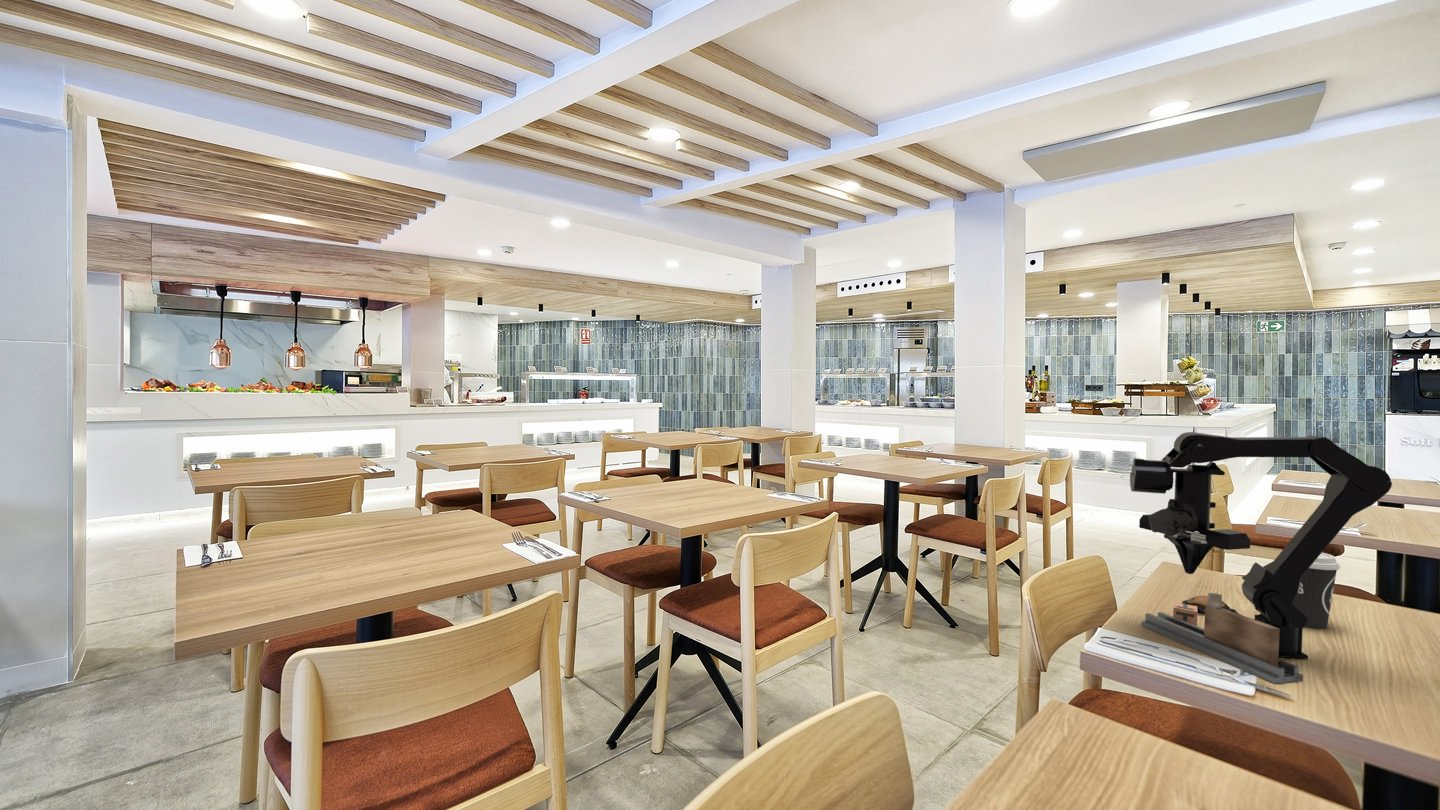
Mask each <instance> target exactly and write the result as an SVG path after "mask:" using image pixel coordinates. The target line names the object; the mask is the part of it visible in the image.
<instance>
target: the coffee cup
mask: <svg viewBox="0 0 1440 810" xmlns="http://www.w3.org/2000/svg"><path fill="white" fill-rule="evenodd" d="M1338 570H1341V565H1340V564H1339V562H1338V561H1337V560H1336V557H1335V556H1334V555H1333V554H1329V553H1325V552H1322V553H1321V554H1320V555H1319V557H1318V558H1317V559H1316V560H1315V561H1314V563H1313V564H1312V565H1311V566H1310V567H1309V569H1308V570H1307V571H1306V572H1305V573H1304V575H1303V576H1302V578H1301V581H1300V586H1299V590H1298V594H1297V596H1296V598H1295V600H1294V602H1293V605H1294V606H1295V607H1296V608H1297V609H1298V610H1299V611H1300V612H1301V613H1303V614H1304V615H1305V616H1306V617H1307V618H1308V621H1307V622H1306V624H1305V626H1304V628H1309V629H1314V630H1315V629H1317V630H1325V629H1327V628H1328V624H1329V619H1330V618H1329V617H1330V612H1331V606H1332V600H1333V594H1334V587H1335V582H1336V576H1337V571H1338Z"/></svg>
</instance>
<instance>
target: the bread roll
mask: <svg viewBox="0 0 1440 810" xmlns="http://www.w3.org/2000/svg"><path fill="white" fill-rule="evenodd" d="M1181 604H1187V605H1192V606H1197V611H1198V612H1197V617H1198V616H1199V617H1200V616H1201V617H1205V605H1208V595H1195V596H1192V597H1190V598H1188V599H1186V600H1182V602H1181ZM1221 608H1223V609H1226V610H1228V611H1231V612H1234V613H1237V614H1240V613H1239V612H1238V611H1237V610H1236V609H1235V608H1234V609H1233V608H1231V607H1230V606H1229V605H1228V604H1227V603H1225V602H1224V601H1223V600H1222V606H1221Z"/></svg>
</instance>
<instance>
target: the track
mask: <svg viewBox="0 0 1440 810" xmlns="http://www.w3.org/2000/svg"><path fill="white" fill-rule="evenodd" d="M1144 616H1145V617H1144V620H1141V623H1140V624H1141V627H1143V628H1146V629H1148V630H1151V631H1153V632H1154V633H1157V634H1160V635H1162V636H1164V637H1167V638H1169V639H1172V640H1174V641H1176V642H1178V643H1180V644H1183V645H1185V646H1187V647H1188V648H1192V649H1194V650H1195V651H1199V652H1201V653H1203V654H1206V655H1208V656H1210V657H1212V658H1215V659H1217V660H1220V661H1222V662H1224V663H1226V664H1228V665H1231V666H1233V667H1236V668H1238V669H1240V670H1242V671H1243V672H1247V673H1249V674H1251V675H1254V676H1255V677H1258V678H1261V679H1263V680H1265V681H1268V682H1270V683H1273V684H1275V685H1277V684H1279V685H1280V684H1287V683H1296V682H1303V680H1304V675H1303V674H1302V673H1300V666H1298V665H1296V664H1293V663H1290V662H1289V661H1285V660H1283V659H1280V658H1278V666H1277V665H1275V664H1272V663H1270V662H1267V661H1265V660H1263V659H1260V658H1258V657H1255V656H1253V655H1250V654H1248V653H1245V652H1243V651H1241V650H1238V649H1236V648H1233V647H1231V646H1228V645H1226V644H1223V643H1221V642H1219V641H1216V640H1214V639H1211V638H1209V637H1206V636H1204V628H1202V627H1201V626H1198V625H1197V626H1195V625H1193V624H1190V623H1188V622H1185V621H1183V620H1180V619H1178V618H1175V617H1173V615H1171V614H1167V613H1165V612H1162V611H1161V612H1158V613H1157V615H1154V614H1152V613H1149V612H1147V613H1145V615H1144Z"/></svg>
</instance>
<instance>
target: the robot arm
mask: <svg viewBox="0 0 1440 810" xmlns="http://www.w3.org/2000/svg"><path fill="white" fill-rule="evenodd" d="M1234 458H1310V459H1311V460H1312V462H1313V463H1315V464H1316V465H1317V466H1318V467H1319V468H1320V469H1321V470H1323V471H1325V472H1326V473H1327V474H1328V475H1329V476H1330V477H1329V479H1328V481H1327V483H1326V485H1325V489H1324V494H1323V498H1322V501H1321V502H1320V504H1318V506H1317V507H1316V509H1315V510H1314V511H1313V512H1312V514H1311V515H1310V516H1309V517H1308V518H1307V520H1306V521H1305V522H1304V523H1303V524H1302V526H1301V527H1300V528H1299V529H1298V531H1297V532H1296V533H1295V534H1294V535H1293V537H1292V538H1291V539H1290V541H1289V542H1288V543H1287V544H1286V545H1285V547H1284V548H1283V549H1282V551H1280V553H1278V555H1277V556H1276V558H1275V559H1273V561H1271V562H1270V563H1267V564H1265V565H1264V566H1262V565H1261V564H1259V562H1254V563H1253V564H1252V566H1251V568H1250V570H1249V572H1247V573H1246V574H1245V575H1243V576H1242V577H1241V579H1242V580H1243V583H1242V584H1241V590H1242V593H1243V596H1244V597H1245V598H1246V599H1247V601H1249V602H1250V603H1251V604H1252V605H1253V607H1254V610H1256V611H1257V612H1259V614H1254V620H1257V621H1260V622H1262V623H1265V624H1268V625H1271V626H1274V627H1277V628H1279V629H1280V631H1279V656H1278V658H1279V657H1280V658H1294V659H1295V658H1296V659H1309V655H1308V654H1306V653H1304V652H1303V651H1302V650H1303V633H1304V632H1303V630H1304V628H1305V627H1304V626H1305V624H1306V622H1307V621H1308V618H1307V617H1306V616H1305V615H1304V614H1303V613H1301V612H1300V611H1299V610H1298V609H1297V608H1296V607H1295V606H1294V605H1293V602H1294V600H1295V598H1296V596H1297V594H1298V590H1299V586H1300V581H1301V578H1302V576H1303V575H1304V573H1305V572H1306V571H1307V570H1308V569H1309V567H1310V566H1311V565H1312V564H1313V563H1314V561H1315V560H1316V559H1317V558H1318V557H1319V555H1320V554H1321V553H1324V551H1325V550H1326V548H1327V547H1328V546H1329V545H1330V544H1331V542H1332V541H1333V540H1334V538H1336V536H1337V535H1338V534H1339V533H1340V532H1341V530H1342V529H1343V528H1344V527H1345V526H1346V524H1348V522H1349V521H1350V520H1351V519H1352V517H1353V516H1355V515H1356V514H1358V513H1360V512H1361V511H1363V510H1366V509H1367V508H1369V507H1371V506H1373V505H1375V504H1376V503H1377V502H1378V501H1379V500H1380V499H1382V498H1383V497H1384V496H1385V495H1386V494H1388V493H1389V492H1390V490H1391V488H1392V486H1393V482H1392V479H1391V476H1390V475H1389V474H1388V473H1387V472H1386V471H1385V470H1383V469H1382V468H1380V467H1377V466H1373V465H1370V464H1369V465H1368V464H1366V463H1365V462H1364V461H1362V460H1361V459H1359V458H1358V457H1356V456H1354V455H1352V454H1351V453H1349V452H1347V451H1346V450H1344V449H1342V448H1341V447H1340V446H1339V445H1337V444H1336V443H1334V442H1333V441H1332V439H1330V438H1327V437H1324V436H1318V435H1307V436H1272V437H1271V436H1269V437H1268V436H1266V437H1265V436H1260V437H1259V436H1258V437H1256V436H1255V437H1253V436H1252V437H1250V436H1249V437H1240V436H1239V437H1232V436H1231V437H1230V436H1224V435H1222V436H1221V435H1218V434H1217V435H1215V434H1211V433H1210V434H1208V433H1202V432H1193V431H1187V432H1183V433H1181V434H1179V435H1178V436H1177V437H1176V438H1175V440H1174V442H1173V448H1171V450H1170V451H1169V452H1168V453H1167V454H1166V455H1165V456H1164V457H1163V458H1162V459H1161V460H1157V459H1156V460H1155V459H1145V458H1139V457H1138V458H1136V457H1135V458H1133V460H1132V461H1133V463H1132V465H1131V472H1130V473H1129V486H1130V491H1131V492H1135V493H1149V494H1166V493H1167V491H1170V490H1172V489H1173V487H1174V498H1170V499H1169V501H1168V502H1167V507H1166V508H1161V509H1159V510H1158V511H1155V512H1153V513H1149V514H1148V513H1147V514H1142V516H1141V517H1140V518H1139V522H1138V523H1139V524H1138V525H1139V526H1138V527H1139V529H1143V530H1148V531H1151V532H1153V533H1160V534H1162V535H1163V537H1164V539H1167V540H1168V541H1169V542H1170V543H1172V544H1173V545H1174V546H1175V549H1176V551H1177V554H1178V556H1179V559H1180V561H1181V564H1182V567H1183V569H1184V572H1185V573H1186V574H1187V575H1194V574H1195V572H1196V571H1197V569H1198V568H1199V566H1200V564H1201V563H1202V561H1203V560H1204V559H1205V557H1206V556H1207V555H1208V554H1209V552H1210V551H1211V550H1212V549H1213V547H1214V548H1217V549H1221V550H1226V551H1227V550H1228V551H1232V550H1248V549H1249V550H1250V549H1251V538H1250V536H1249V535H1248V534H1247V533H1246V532H1241V531H1237V530H1233V529H1229V528H1225V529H1215V527H1216V523H1214V522H1211V521H1210V520H1211V519H1210V518H1211V509H1216V506H1217V505H1216V504H1217V503H1216V502H1215V501H1214V502H1213V501H1211V499H1212V498H1211V496H1212V495H1211V494H1212V493H1211V492H1212V476H1225V475H1226V472H1225V471H1224V470H1223V469H1221V468H1220V467H1219V466H1218V465H1217V463H1216V462H1218V461H1223V460H1228V459H1234ZM1204 463H1205V464H1204ZM1185 467H1186V468H1185ZM1174 473H1175V474H1174ZM1174 475H1175V477H1174ZM1174 478H1175V479H1174Z"/></svg>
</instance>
